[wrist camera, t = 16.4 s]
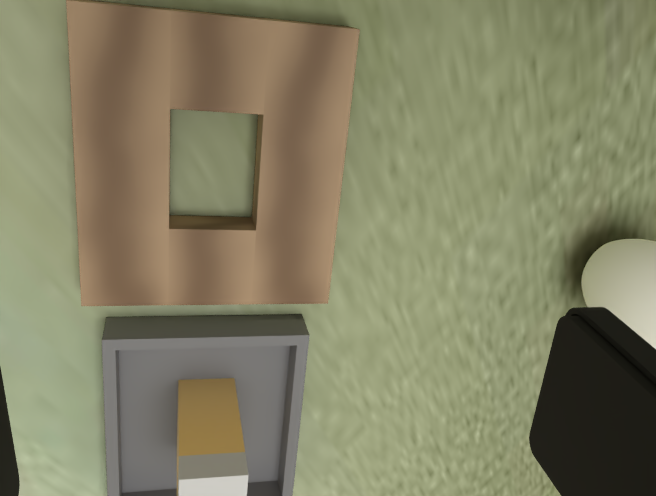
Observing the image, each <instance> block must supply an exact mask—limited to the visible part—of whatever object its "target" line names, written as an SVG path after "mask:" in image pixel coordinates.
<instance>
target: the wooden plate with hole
mask: <svg viewBox="0 0 656 496" xmlns="http://www.w3.org/2000/svg"><path fill="white" fill-rule="evenodd" d="M66 6H67V26H68V46H69V66H70V86H71V106H72V126H73V146H74V166H75V186H76V206H77V227H78V247H79V267H80V287H81V306H129V305H224V304H318V303H328V299H329V290H330V281H331V273H332V264H333V255H334V247H335V238H336V230H337V221H338V212H339V204H340V195H341V186H342V178H343V169H344V161H345V152H346V143H347V135H348V126H349V117H350V109H351V100H352V92H353V83H354V74H355V66H356V57H357V48H358V40H359V31H360V29H356V28H352V27H348V26H338V25H328V24H319V23H309V22H299V21H289V20H279V19H269V18H259V17H249V16H239V15H229V14H219V13H209V12H199V11H190V10H180V9H170V8H160V7H150V6H140V5H130V4H120V3H110V2H100V1H90V0H66ZM170 109H182V110H198V111H214V112H229V113H245V114H258V125H257V141H256V157H255V174H254V190H253V206H252V217H221V216H178V215H169V200H170Z"/></svg>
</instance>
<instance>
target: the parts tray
mask: <svg viewBox="0 0 656 496" xmlns="http://www.w3.org/2000/svg"><path fill="white" fill-rule="evenodd" d="M308 344H309V333H308V330H307V327H306V325H305V322H304V319H303V317H302V314H289V315H222V316H154V317H107V318H106V322H105V327H104V332H103V337H102V357H103V384H104V411H105V438H106V465H107V493H108V496H177V415H178V380H189V379H221V378H234V379H235V386H236V393H237V399H238V406H239V413H240V420H241V427H242V434H243V441H244V447H245V454H246V461H247V468H248V488H247V496H292V495H293V486H294V476H295V467H296V457H297V448H298V439H299V429H300V420H301V410H302V401H303V391H304V382H305V372H306V363H307V353H308Z"/></svg>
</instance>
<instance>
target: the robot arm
mask: <svg viewBox="0 0 656 496" xmlns="http://www.w3.org/2000/svg"><path fill="white" fill-rule="evenodd" d="M529 441H530V447H531V450H532V453H533V455H534V457H535V458H536V460H537V461H538V462H539V464H540V465H541V467H542V468H543V470H544V471H545V473H546V474H547V476H548V477H549V478H550V480H551V481H552V483H553V484H554V486H555V487H556V489H557V490H558V491H559V493H560V494H561V496H656V349H655V348H654V347H652V346H651V345H650V344H649V343H648V342H646V341H645V340H644V339H643V338H642V337H641V336H639V335H638V334H637V333H636V332H635V331H633V330H632V329H631V328H630V327H629V326H627V325H626V324H625V323H624V322H623V321H621V320H620V319H619V318H618V317H617V316H615V315H614V314H613V313H612V312H611V311H609V310H608V309H606V308H604V307H584V308H572V309H570V310H569V311H568V312H567V313H566V315H565V316H563V317H561V318H560V319H559V321H558V323H557V327H556V331H555V335H554V339H553V343H552V347H551V351H550V355H549V359H548V363H547V367H546V371H545V375H544V379H543V383H542V387H541V391H540V395H539V399H538V403H537V407H536V411H535V415H534V419H533V423H532V427H531V431H530V436H529ZM18 494H19V473H18V468H17V462H16V456H15V450H14V444H13V438H12V432H11V427H10V421H9V415H8V409H7V403H6V397H5V391H4V386H3V380H2V374H1V368H0V496H18Z"/></svg>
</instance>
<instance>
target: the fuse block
mask: <svg viewBox="0 0 656 496" xmlns="http://www.w3.org/2000/svg"><path fill="white" fill-rule="evenodd" d="M247 488H248V468H247V461H246V454H245V447H244V441H243V434H242V427H241V420H240V413H239V406H238V399H237V393H236V386H235V379H234V378H221V379H189V380H178V415H177V496H247Z"/></svg>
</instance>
